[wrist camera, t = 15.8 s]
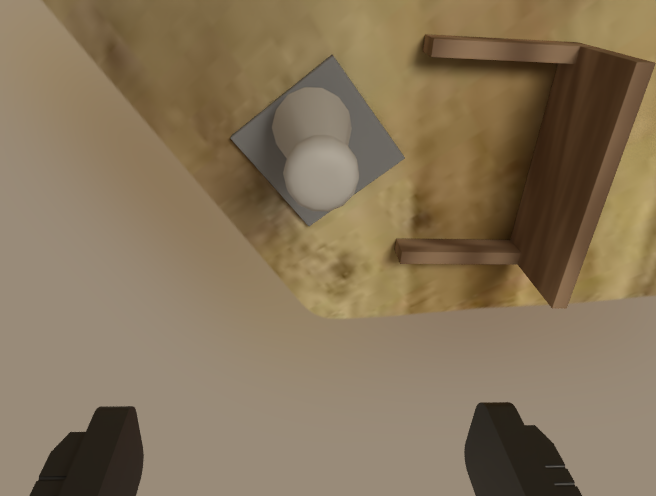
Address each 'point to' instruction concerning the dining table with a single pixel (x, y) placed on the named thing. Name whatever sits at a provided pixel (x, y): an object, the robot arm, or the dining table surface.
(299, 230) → the dining table surface
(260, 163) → the mat
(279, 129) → the salt shaker
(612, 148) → the wooden stand
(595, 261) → the dining table surface
